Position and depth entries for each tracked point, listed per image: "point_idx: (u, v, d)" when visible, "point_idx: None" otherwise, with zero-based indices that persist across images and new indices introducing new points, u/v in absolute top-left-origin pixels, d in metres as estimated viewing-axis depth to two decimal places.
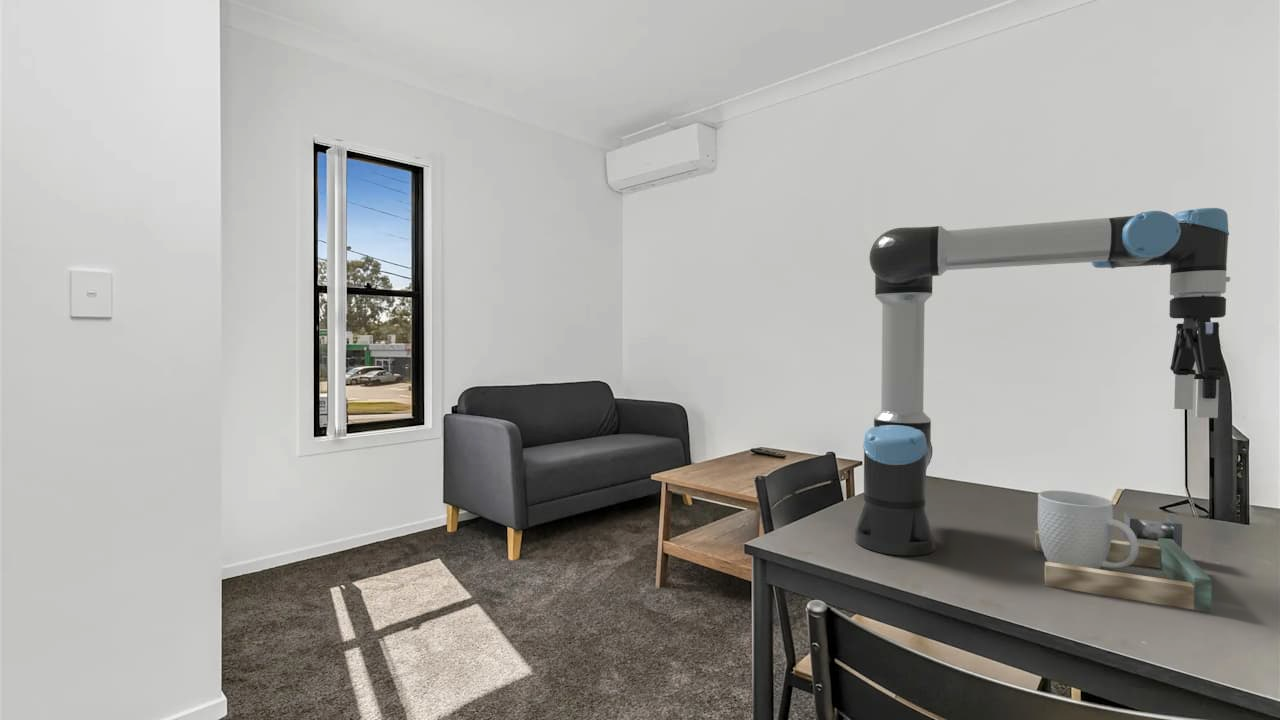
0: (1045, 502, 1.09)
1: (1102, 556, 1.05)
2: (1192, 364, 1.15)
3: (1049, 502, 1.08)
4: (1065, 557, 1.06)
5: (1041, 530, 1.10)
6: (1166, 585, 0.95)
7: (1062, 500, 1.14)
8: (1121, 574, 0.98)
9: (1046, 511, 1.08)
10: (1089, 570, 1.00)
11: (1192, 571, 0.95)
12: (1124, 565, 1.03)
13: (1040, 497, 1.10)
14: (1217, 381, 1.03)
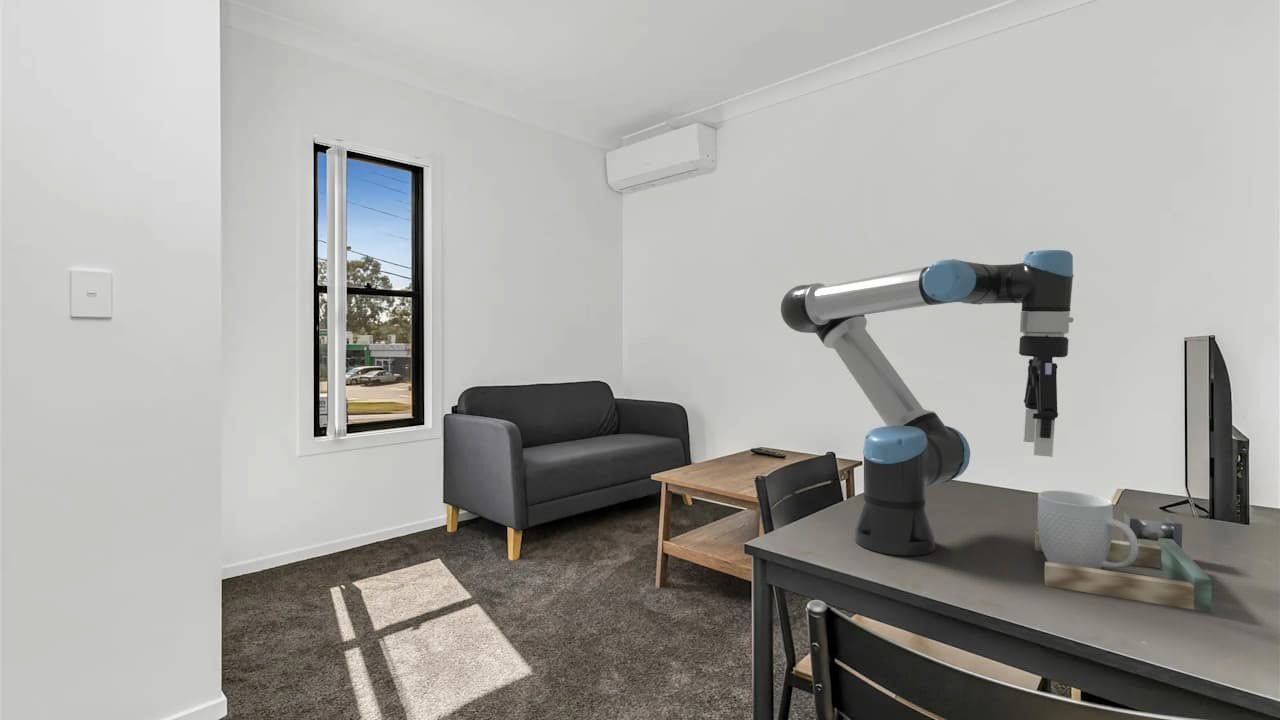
0: (1045, 502, 1.09)
1: (1102, 556, 1.05)
2: None
3: (1049, 502, 1.08)
4: (1065, 557, 1.06)
5: (1041, 530, 1.10)
6: (1166, 585, 0.95)
7: (1062, 500, 1.14)
8: (1121, 574, 0.98)
9: (1046, 511, 1.08)
10: (1089, 570, 1.00)
11: (1192, 571, 0.95)
12: (1124, 565, 1.03)
13: (1040, 497, 1.10)
14: (1053, 421, 1.06)
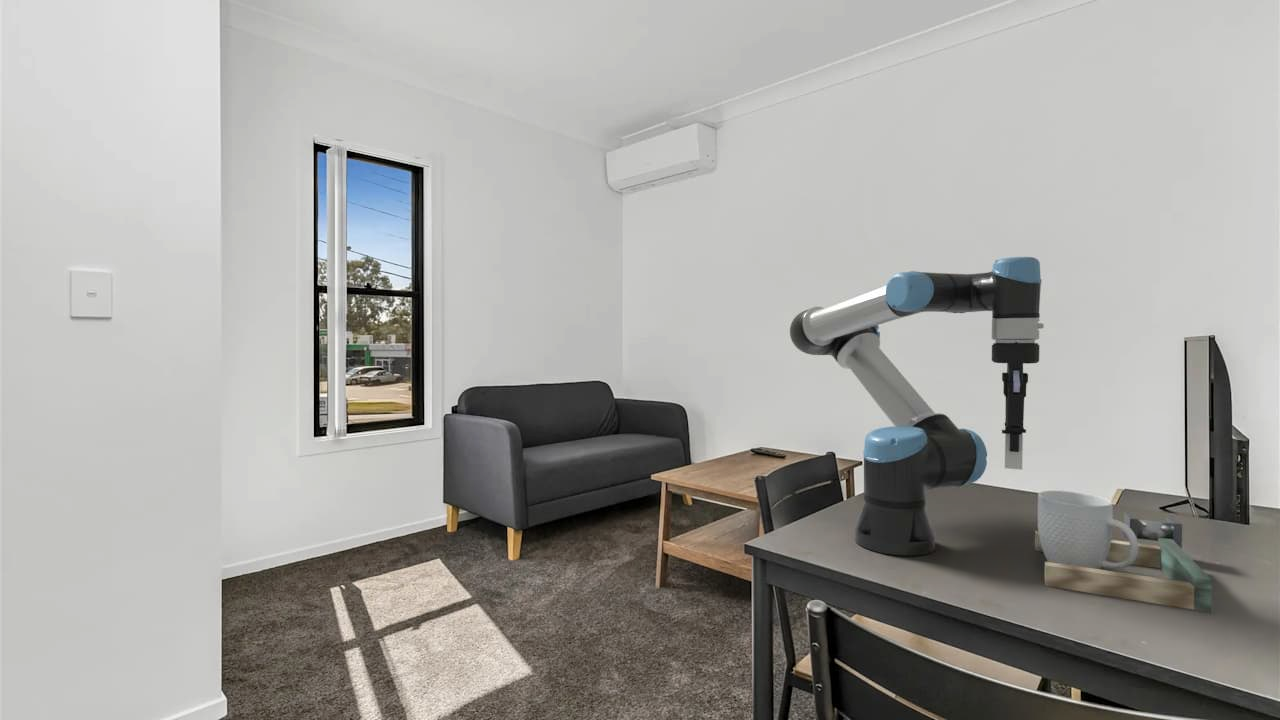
0: (1045, 502, 1.09)
1: (1102, 556, 1.05)
2: None
3: (1049, 502, 1.08)
4: (1065, 557, 1.06)
5: (1041, 530, 1.10)
6: (1166, 585, 0.95)
7: (1062, 500, 1.14)
8: (1121, 574, 0.98)
9: (1046, 511, 1.08)
10: (1089, 570, 1.00)
11: (1192, 571, 0.95)
12: (1124, 565, 1.03)
13: (1040, 497, 1.10)
14: (1021, 435, 1.11)
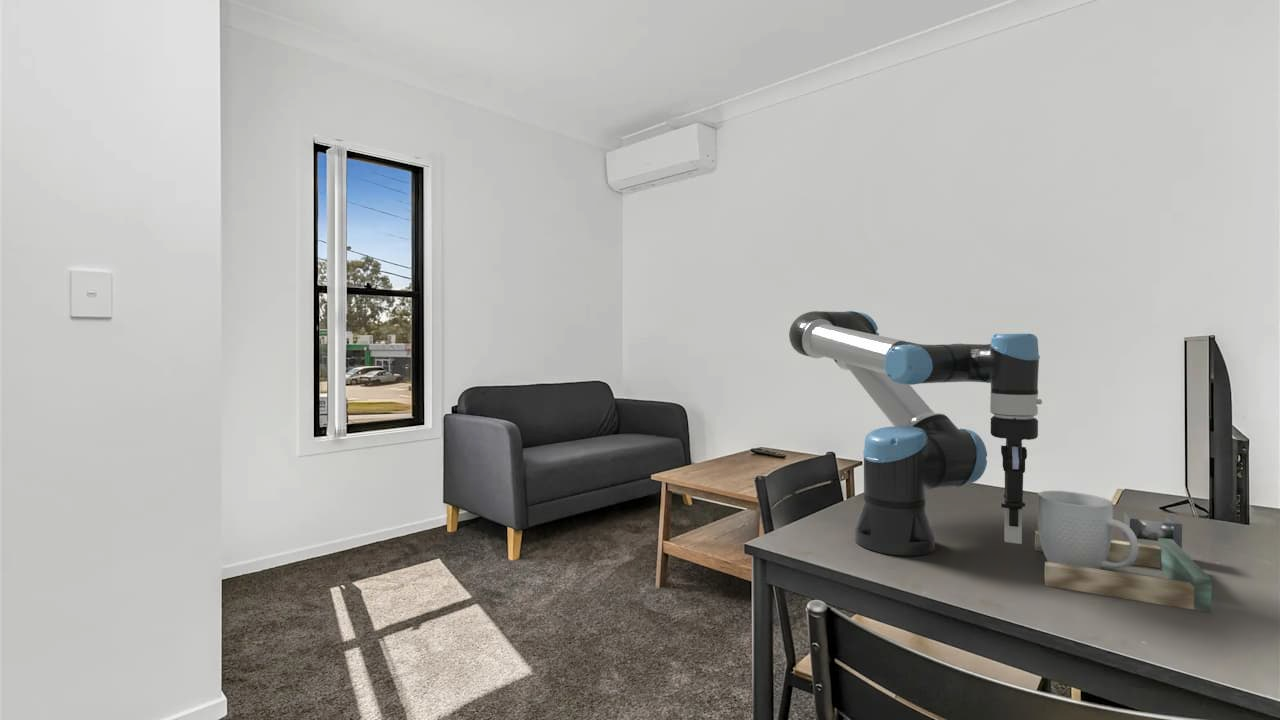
0: (1045, 502, 1.09)
1: (1102, 556, 1.05)
2: None
3: (1049, 502, 1.08)
4: (1065, 557, 1.06)
5: (1041, 530, 1.10)
6: (1166, 585, 0.95)
7: (1062, 500, 1.14)
8: (1121, 574, 0.98)
9: (1046, 511, 1.08)
10: (1089, 570, 1.00)
11: (1192, 571, 0.95)
12: (1124, 565, 1.03)
13: (1040, 497, 1.10)
14: (1020, 510, 1.12)
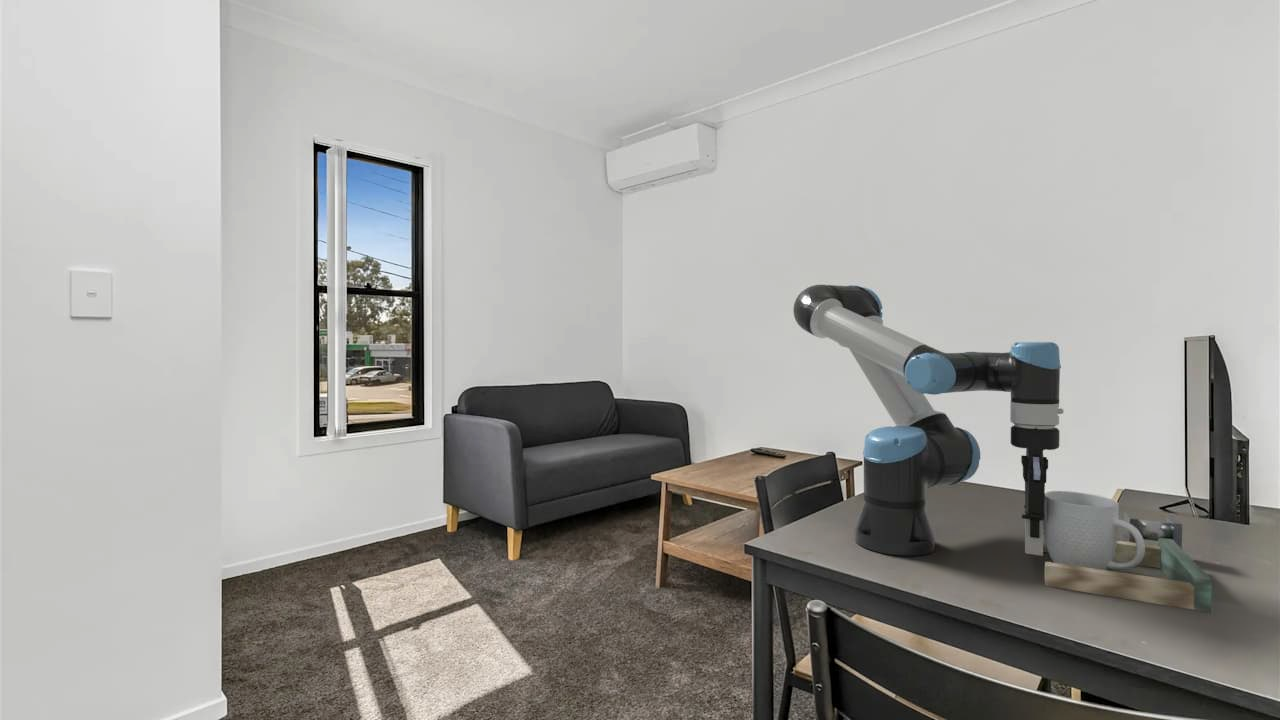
0: (1051, 503, 1.08)
1: (1108, 557, 1.04)
2: None
3: (1055, 503, 1.07)
4: (1071, 558, 1.06)
5: (1047, 531, 1.09)
6: (1166, 585, 0.95)
7: (1067, 500, 1.13)
8: (1121, 574, 0.98)
9: (1052, 511, 1.08)
10: (1089, 570, 1.00)
11: (1192, 571, 0.95)
12: (1130, 566, 1.02)
13: (1046, 497, 1.10)
14: (1042, 521, 1.10)
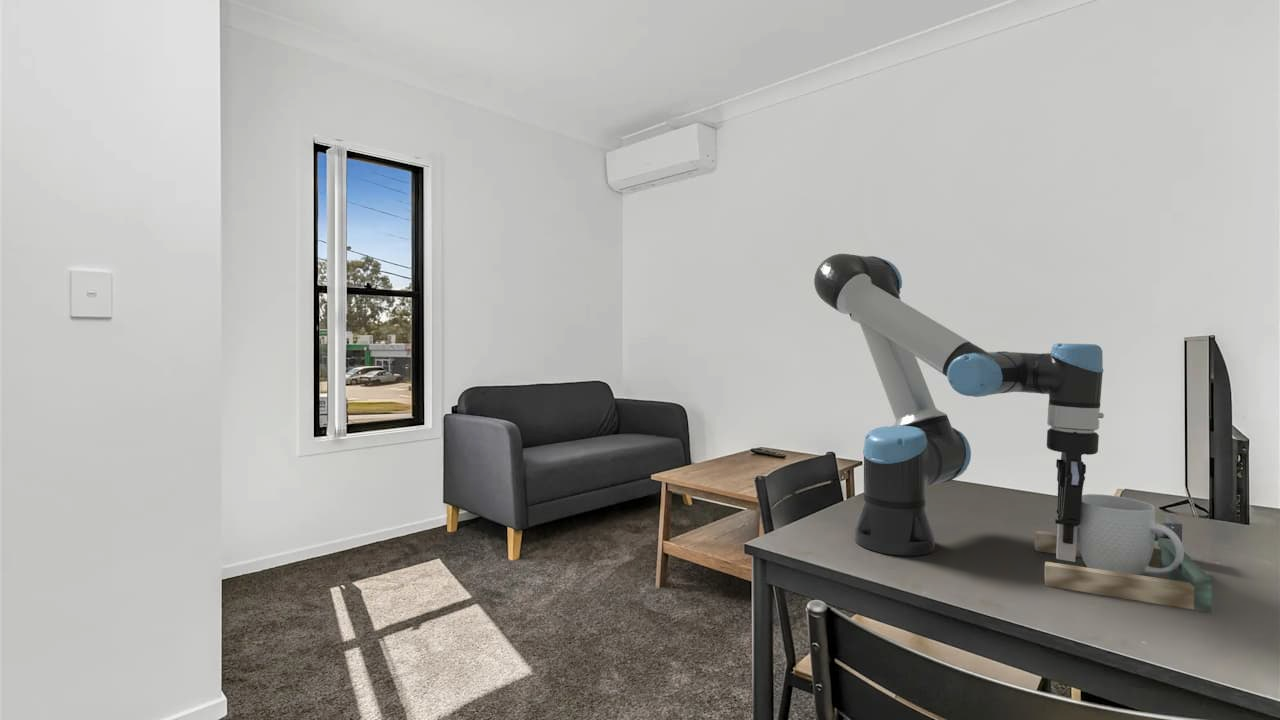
0: (1085, 507, 1.06)
1: (1145, 562, 1.02)
2: None
3: (1090, 507, 1.05)
4: (1107, 563, 1.03)
5: (1081, 535, 1.07)
6: (1166, 585, 0.95)
7: (1099, 504, 1.11)
8: (1121, 574, 0.98)
9: (1086, 515, 1.06)
10: (1089, 570, 1.00)
11: (1192, 571, 0.95)
12: (1169, 571, 1.00)
13: None
14: (1076, 527, 1.08)
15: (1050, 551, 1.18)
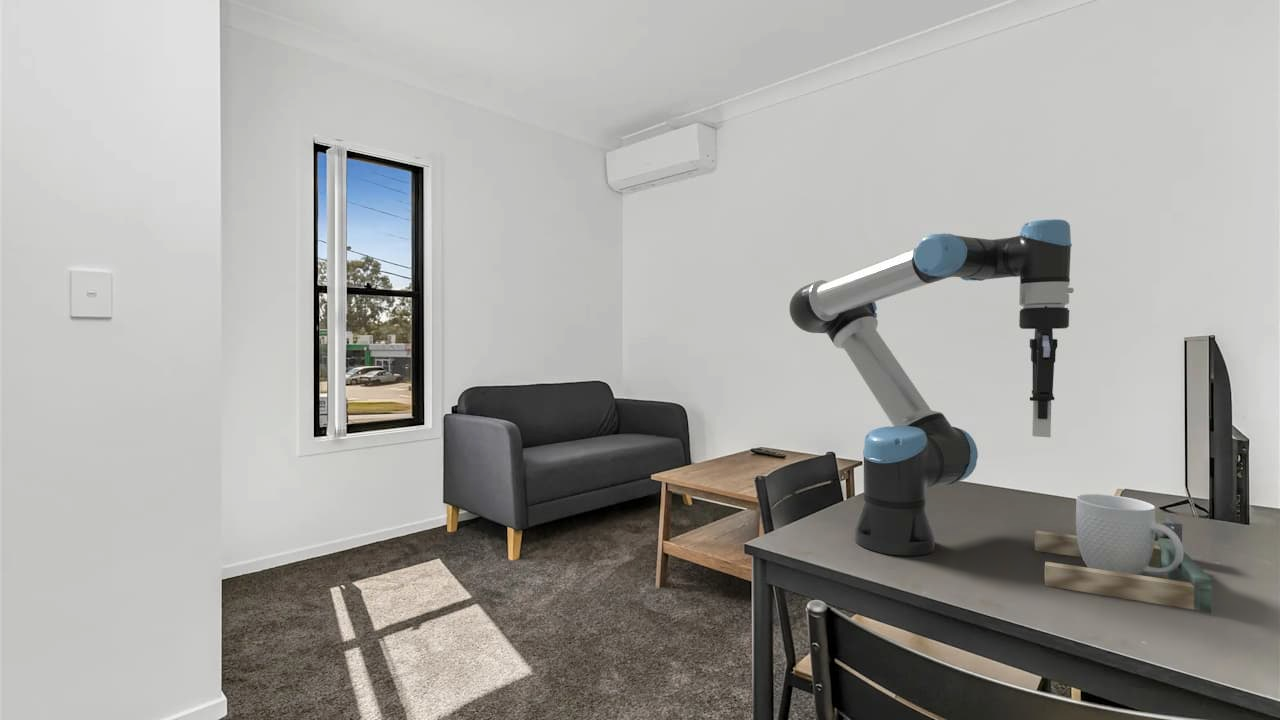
0: (1085, 506, 1.06)
1: (1145, 561, 1.02)
2: None
3: (1089, 506, 1.05)
4: (1107, 563, 1.04)
5: (1081, 535, 1.07)
6: (1166, 585, 0.95)
7: (1100, 504, 1.11)
8: (1121, 574, 0.98)
9: (1086, 515, 1.06)
10: (1089, 570, 1.00)
11: (1192, 571, 0.95)
12: (1169, 571, 1.00)
13: (1079, 501, 1.08)
14: (1050, 402, 1.09)
15: (1050, 551, 1.18)
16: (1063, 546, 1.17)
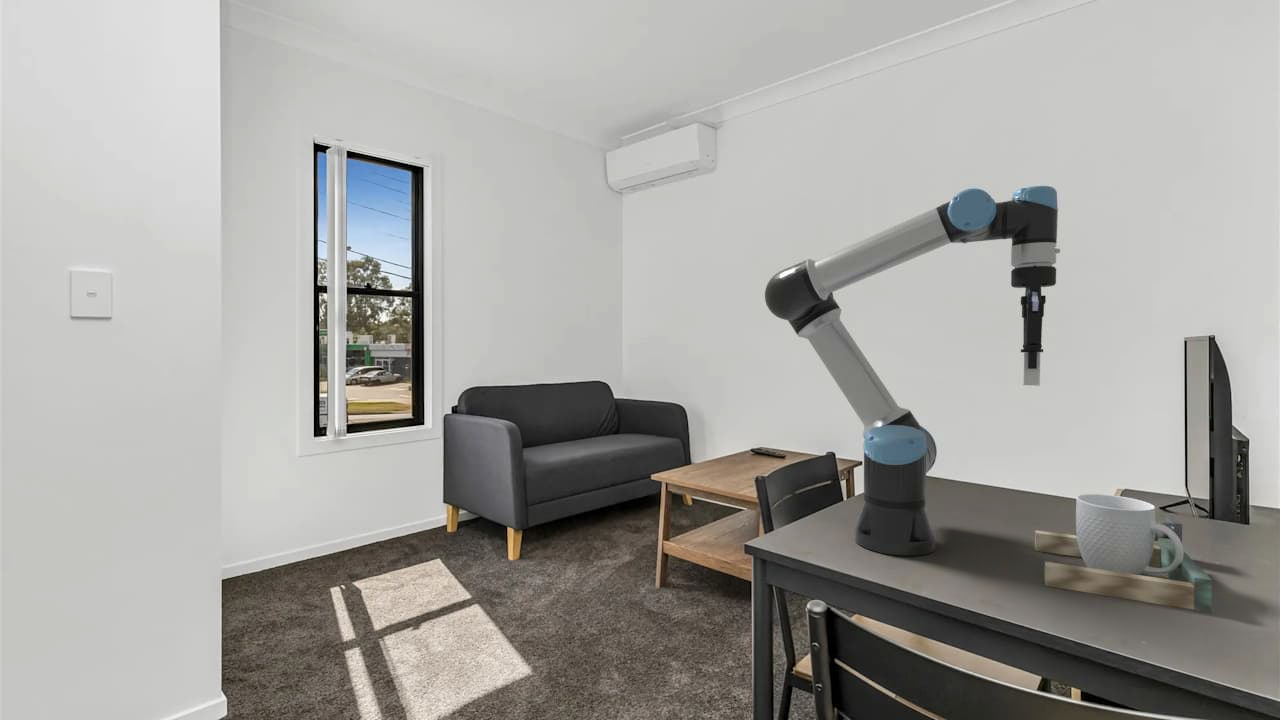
0: (1085, 506, 1.06)
1: (1145, 561, 1.02)
2: None
3: (1090, 506, 1.05)
4: (1107, 563, 1.04)
5: (1081, 535, 1.07)
6: (1166, 585, 0.95)
7: (1100, 504, 1.11)
8: (1121, 574, 0.98)
9: (1086, 515, 1.06)
10: (1089, 570, 1.00)
11: (1192, 571, 0.95)
12: (1169, 571, 1.00)
13: (1079, 501, 1.08)
14: (1039, 354, 1.20)
15: (1050, 551, 1.18)
16: (1063, 546, 1.17)
